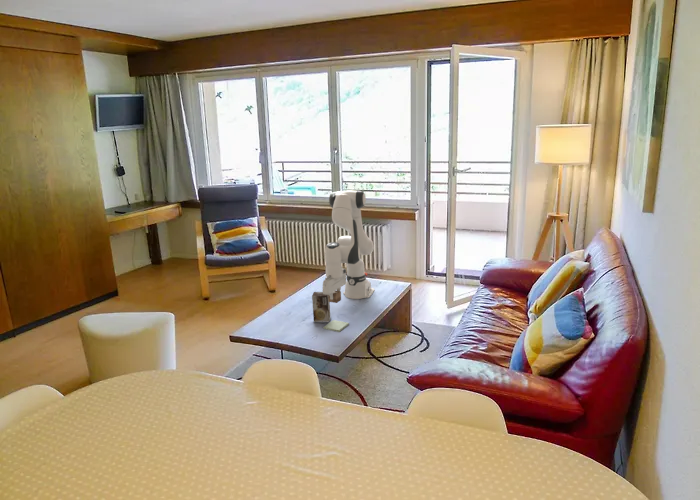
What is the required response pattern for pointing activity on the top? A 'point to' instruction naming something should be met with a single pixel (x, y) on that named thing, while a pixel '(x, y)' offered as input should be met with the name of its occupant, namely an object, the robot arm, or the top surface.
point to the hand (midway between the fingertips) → (334, 297)
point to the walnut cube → (335, 297)
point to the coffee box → (321, 307)
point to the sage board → (336, 325)
